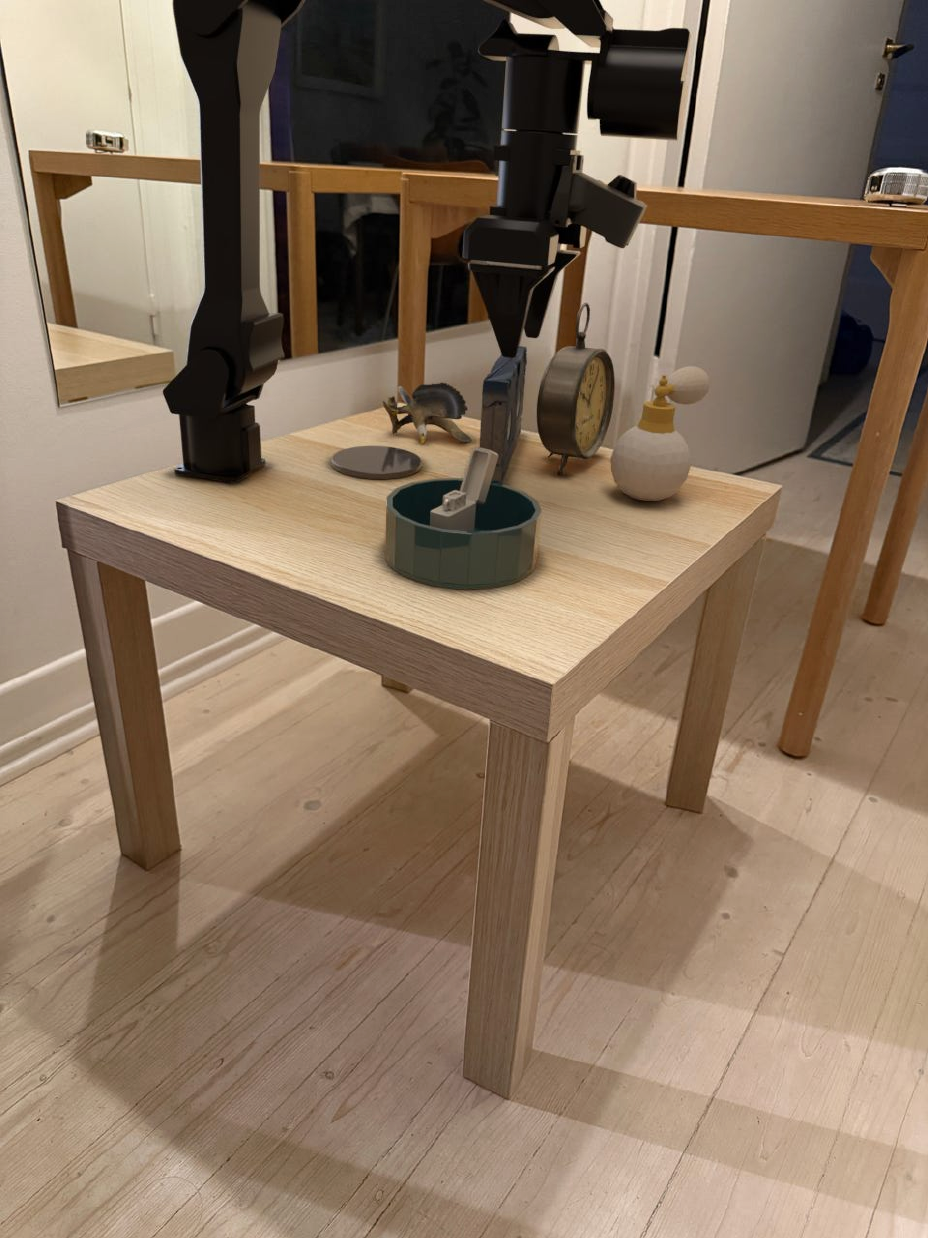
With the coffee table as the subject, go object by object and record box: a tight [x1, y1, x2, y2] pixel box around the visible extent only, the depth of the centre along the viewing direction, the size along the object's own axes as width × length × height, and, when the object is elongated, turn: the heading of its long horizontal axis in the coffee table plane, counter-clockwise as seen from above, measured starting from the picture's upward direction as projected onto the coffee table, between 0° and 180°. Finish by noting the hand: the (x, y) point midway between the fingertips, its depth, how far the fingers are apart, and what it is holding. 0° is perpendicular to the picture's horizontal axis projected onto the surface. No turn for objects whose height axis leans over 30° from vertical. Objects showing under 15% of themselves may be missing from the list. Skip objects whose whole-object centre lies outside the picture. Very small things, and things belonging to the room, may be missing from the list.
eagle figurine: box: [382, 382, 473, 445], centre depth 100 cm, size 8×7×9 cm
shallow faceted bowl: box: [384, 477, 543, 590], centre depth 71 cm, size 12×12×4 cm
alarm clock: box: [536, 302, 616, 476], centre depth 92 cm, size 11×5×16 cm, turn 151°
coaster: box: [331, 445, 422, 480], centre depth 92 cm, size 9×9×1 cm
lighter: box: [430, 445, 498, 532], centre depth 70 cm, size 7×2×8 cm, turn 148°
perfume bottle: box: [610, 365, 710, 502], centre depth 86 cm, size 8×10×12 cm
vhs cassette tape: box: [478, 345, 528, 484], centre depth 94 cm, size 18×3×10 cm, turn 169°
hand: (521, 346), depth 75 cm, fingers open, 9 cm apart
